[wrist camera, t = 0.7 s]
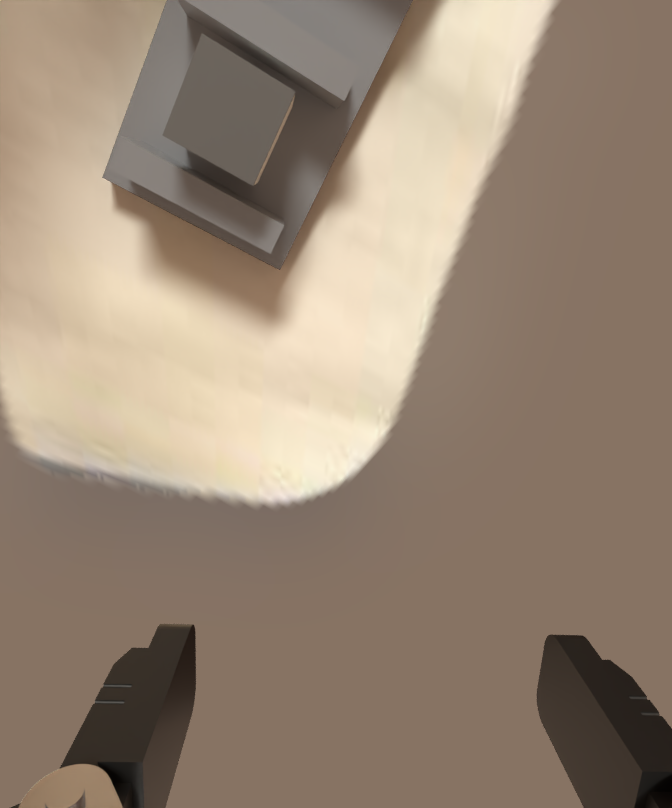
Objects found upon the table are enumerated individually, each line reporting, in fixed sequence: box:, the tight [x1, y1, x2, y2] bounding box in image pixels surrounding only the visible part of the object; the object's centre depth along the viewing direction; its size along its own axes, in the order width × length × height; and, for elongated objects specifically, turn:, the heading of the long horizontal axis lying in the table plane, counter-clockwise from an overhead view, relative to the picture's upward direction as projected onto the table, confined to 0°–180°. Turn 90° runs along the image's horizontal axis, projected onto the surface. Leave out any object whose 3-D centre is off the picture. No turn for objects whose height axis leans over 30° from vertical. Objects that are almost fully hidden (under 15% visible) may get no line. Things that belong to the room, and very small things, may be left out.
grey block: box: [162, 33, 296, 186], centre depth 25 cm, size 4×4×6 cm
